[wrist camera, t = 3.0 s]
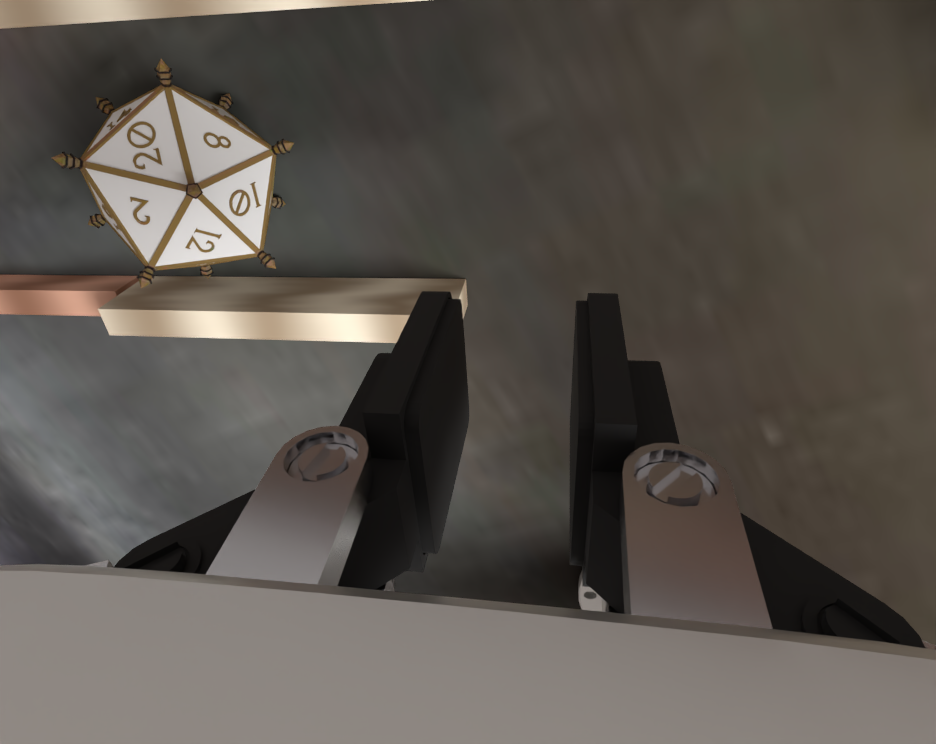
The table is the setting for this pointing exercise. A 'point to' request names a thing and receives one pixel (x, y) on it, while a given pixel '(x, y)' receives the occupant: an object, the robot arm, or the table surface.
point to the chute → (218, 298)
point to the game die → (180, 180)
